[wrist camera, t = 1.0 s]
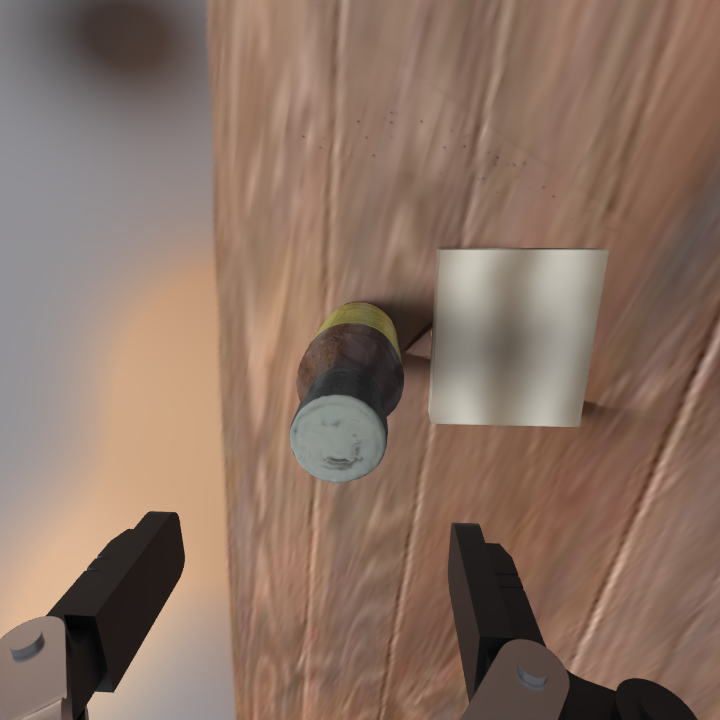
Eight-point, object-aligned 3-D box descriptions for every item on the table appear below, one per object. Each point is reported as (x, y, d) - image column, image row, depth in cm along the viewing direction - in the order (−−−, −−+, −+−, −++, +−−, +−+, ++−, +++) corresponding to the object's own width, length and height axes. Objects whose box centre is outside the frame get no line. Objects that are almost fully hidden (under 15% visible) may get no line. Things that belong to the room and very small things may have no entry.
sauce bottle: (371, 382, 38) (356, 543, 19) (309, 345, 37) (229, 473, 18) (413, 320, 36) (443, 429, 17) (348, 280, 35) (305, 346, 16)
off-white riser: (590, 247, 34) (608, 250, 31) (564, 411, 38) (579, 426, 35) (435, 247, 34) (440, 249, 32) (427, 408, 39) (431, 423, 36)
